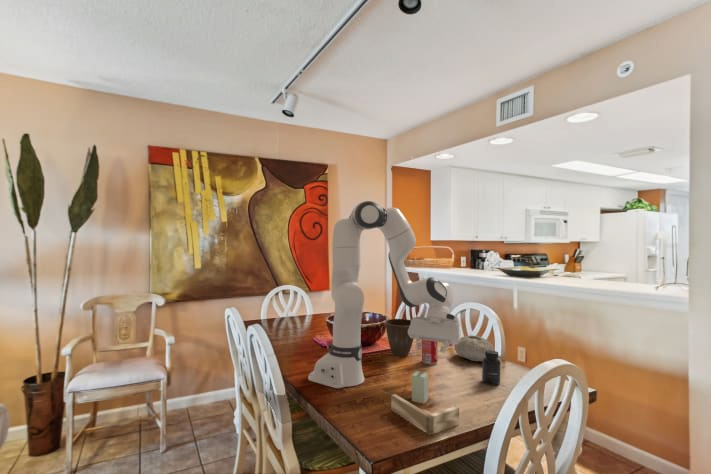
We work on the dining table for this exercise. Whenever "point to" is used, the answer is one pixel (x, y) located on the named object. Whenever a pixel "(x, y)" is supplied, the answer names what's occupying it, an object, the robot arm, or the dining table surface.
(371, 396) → the dining table surface
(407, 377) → the dining table surface
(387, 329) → the plant pot
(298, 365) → the dining table surface
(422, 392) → the sage block
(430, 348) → the soda can
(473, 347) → the decorative shell
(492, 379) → the supplement bottle
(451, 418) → the corner bracket
